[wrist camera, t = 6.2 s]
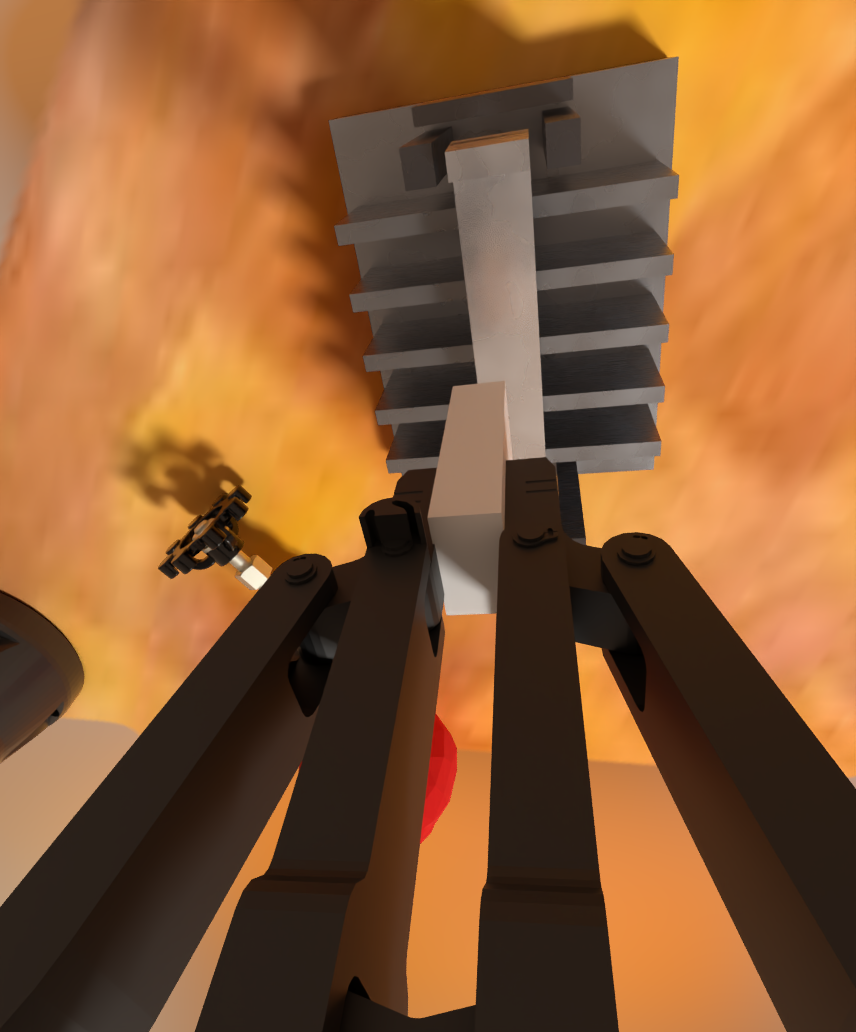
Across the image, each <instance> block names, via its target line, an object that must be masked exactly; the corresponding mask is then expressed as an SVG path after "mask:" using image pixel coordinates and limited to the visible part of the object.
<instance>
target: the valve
mask: <svg viewBox="0 0 856 1032" xmlns="http://www.w3.org/2000/svg"><path fill="white" fill-rule="evenodd" d="M251 497H252V496H251V495H250V494H249V493H248V492H247V491H246V490H245V489H244V488H243V487H242V486H241V485H238V486H236V487H235V488H234V489H233V490H232V491H231V492H230V493H229V494H228V495H227V494H226V493H223V494H222V495H220V496H219V497H218V498H217V499H216V500H215V501H214V503H213V504H212V506H213V507H212V508H211V509H210V510H209V511H208V512H207V513H206V514H205V515H204V516H202V515H198V516H197V517H196V518H195V519H194V520H193V521H192V522H191V523H190V524H189V526H188V529H190V530H189V531H188V532H187V533H186V535H185V536H184V537H183V538H182V539H181V540H176V541H175V542H174V543H173V544H172V545H171V546H170V547H169V548H168V549H167V551H166V554H167V555H168V556H167V557H166V558H165V559H164V560H163V561H162V562H161V563H160V565H159V566H158V569H159V570H160V571H161V572H163V573H164V574H165V575H166V576H168V577H169V578H170V579H173V578H174V577H176V576H177V575H178V574H179V572H178V570H177V569H179V570H180V571H181V572H182V573H183V574H187V573H189V572H190V571H191V570H192V569H197V570H202V569H206V568H209V567H210V566H212V565H213V564H214V563H215V562H216V563H217V564H218V565H219V566H224V565H226V564H227V563H230V564H232V565H233V566H234V567H235V568H236V569H237V572H236V575H235V577H236V578H237V579H238V580H239V581H240V582H241V583H243V584H244V585H245V586H246V587H247V588H249V589H250V590H256V589H260V588H261V587H262V585H263V584H264V583H265V582H266V581H267V579H268V578H269V577H270V576H271V574H270V573H271V571H272V569H273V568H272V567H271V566H269V565H268V564H267V563H266V562H265V561H264V560H263V559H262V558H260V557H259V556H258V555H252V556H251V557H248V556H247V555H246V554H245V553H244V552H242V551H241V549H242V547H243V545H244V541H243V540H242V539H240V538H239V537H238V532H239V528H238V524H237V522H236V520H237V521H239V520H240V519H241V518H242V517H243V516H244V515H245V514H246V513H247V511H248V507H247V506H246V505H245V504H244V503H243V502H245V503H248V501H249V500H250V499H251ZM240 500H241V501H242V502H241V501H240ZM234 518H235V519H236V520H235V519H234ZM201 550H202V551H203V552H204V553H205V554H206V555H208V556H207V557H205V558H204V559H201V560H199V559H196V558H194V556H195V555H197V554H198V553H199V552H200V551H201ZM175 567H176V568H177V569H176V568H175Z"/></svg>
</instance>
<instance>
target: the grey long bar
mask: <svg viewBox="0 0 856 1032" xmlns="http://www.w3.org/2000/svg"><path fill="white" fill-rule="evenodd" d="M445 159H446V167H447V175H448V183H451V182H453V186H454V194H455V202H456V210H457V219H458V227H459V235H460V243H461V252H462V260H463V268H464V276H465V285H466V293H467V301H468V309H469V317H470V326H471V334H472V342H473V350H474V359H475V367H476V375H477V383H478V384H479V383H488V382H497V381H505V386H506V396H507V407H508V417H509V427H510V437H511V447H512V458H513V460H516V459H528V458H540V457H546V453H545V434H544V415H543V396H542V378H541V359H540V340H539V321H538V302H537V283H536V264H535V246H534V227H533V208H532V189H531V170H530V151H529V132H528V129H524V130H518V131H512V132H506V133H500V134H494V135H488V136H482V137H476V138H470V139H464V140H458V141H452V142H451V143H450V144H449V146H448V148H447V149H446V151H445Z"/></svg>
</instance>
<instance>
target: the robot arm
mask: <svg viewBox="0 0 856 1032" xmlns="http://www.w3.org/2000/svg"><path fill="white" fill-rule="evenodd" d="M359 520H360V524H361V527H362V531H363V534H364V538H365V542H366V545H367V550H366V554H365V556H364V557H362V558H360V559H358V560H355V561H352V562H349V563H345V564H342V565H338V566H335V567H332V564H331V561H330V560H329V559H327V558H326V557H325V556H322V555H319V554H304V555H300V556H296V557H293V558H291V559H289V560H287V561H286V562H284V563H282V564H281V565H280V566H279V567H278V568H277V569H276V570H275V571H274V572H273V573H272V574H271V576H270V577H269V578H268V579H267V581H266V582H265V583H264V584H263V585H262V587H261V588H260V589H259V590H258V592H257V593H256V594H255V595H254V597H253V598H252V599H251V600H250V601H249V603H248V604H247V605H246V606H245V608H244V609H243V610H242V611H241V612H240V614H239V615H238V616H237V617H236V619H235V620H234V621H233V622H232V623H231V625H230V626H229V627H228V628H227V630H226V631H225V632H224V633H223V635H222V636H221V637H220V638H219V639H218V641H217V642H216V643H215V644H214V646H213V647H212V648H211V649H210V650H209V652H208V653H207V654H206V655H205V657H204V658H203V659H202V660H201V662H200V663H199V664H198V665H197V666H196V668H195V669H194V670H193V671H192V673H191V674H190V675H189V676H188V677H187V679H186V680H185V681H184V682H183V684H182V685H181V686H180V687H179V689H178V690H177V691H176V692H175V693H174V695H173V696H172V697H171V698H170V700H169V701H168V702H167V703H166V704H165V706H164V707H163V708H162V709H161V711H160V712H159V713H158V714H157V715H156V717H155V718H154V719H153V720H152V722H151V723H150V724H149V725H148V727H147V728H146V729H145V730H144V731H143V733H142V734H141V735H140V736H139V738H138V739H137V740H136V741H135V743H134V744H133V745H132V746H131V748H130V749H129V750H128V751H127V752H126V754H125V755H124V756H123V757H122V759H121V760H120V761H119V762H118V763H117V765H116V766H115V767H114V768H113V769H112V771H111V772H110V773H109V774H108V776H107V777H106V778H105V779H104V781H103V782H102V783H101V784H100V785H99V787H98V788H97V789H96V790H95V792H94V793H93V794H92V795H91V797H90V798H89V799H88V800H87V801H86V803H85V804H84V805H83V806H82V808H81V809H80V810H79V811H78V812H77V814H76V815H75V816H74V817H73V819H72V820H71V821H70V822H69V824H68V825H67V826H66V827H65V828H64V830H63V831H62V832H61V833H60V835H59V836H58V837H57V838H56V840H55V841H54V842H53V843H52V844H51V846H50V847H49V848H48V849H47V851H46V852H45V853H44V854H43V855H42V857H41V858H40V859H39V860H38V862H37V863H36V864H35V865H34V866H33V868H32V869H31V870H30V871H29V873H28V874H27V875H26V876H25V877H24V879H23V880H22V881H21V882H20V884H19V885H18V886H17V887H16V888H15V890H14V891H13V892H12V893H11V895H10V896H9V897H8V898H7V899H6V901H5V902H4V903H3V904H2V906H1V907H0V1032H149V1031H150V1029H151V1027H152V1026H153V1024H154V1022H155V1021H156V1019H157V1017H158V1015H159V1014H160V1012H161V1010H162V1008H163V1007H164V1005H165V1003H166V1001H167V1000H168V998H169V996H170V994H171V992H172V991H173V989H174V987H175V985H176V984H177V982H178V980H179V978H180V976H181V975H182V973H183V971H184V969H185V967H186V966H187V964H188V962H189V960H190V959H191V957H192V955H193V953H194V952H195V950H196V948H197V946H198V945H199V943H200V941H201V939H202V937H203V935H204V934H205V932H206V930H207V929H208V927H209V925H210V923H211V921H212V920H213V918H214V916H215V914H216V913H217V911H218V909H219V907H220V905H221V904H222V902H223V900H224V898H225V896H226V895H227V893H228V891H229V890H230V888H231V886H232V884H233V882H234V881H235V879H236V877H237V875H238V873H239V872H240V870H241V868H242V866H243V865H244V863H245V861H246V859H247V858H248V856H249V854H250V852H251V850H252V848H253V847H254V845H255V843H256V842H257V840H258V838H259V836H260V834H261V833H262V831H263V829H264V827H265V826H266V824H267V822H268V820H269V819H270V817H271V815H272V813H273V811H274V810H275V808H276V806H277V804H278V802H279V801H280V799H281V797H282V795H283V794H284V792H285V790H286V788H287V787H288V785H289V783H290V781H291V779H292V778H293V776H294V774H295V772H296V771H297V769H298V767H299V765H300V764H301V762H302V764H301V767H300V770H299V773H298V777H297V780H296V784H295V787H294V790H293V793H292V797H291V800H290V803H289V806H288V810H287V813H286V817H285V819H284V823H283V826H282V829H281V833H280V836H279V839H278V842H277V846H276V849H275V852H274V855H273V859H272V861H271V864H270V866H269V869H268V870H267V871H266V873H265V874H264V875H262V876H259V877H257V878H255V879H252V880H251V881H250V882H249V884H248V885H247V887H246V888H245V889H244V890H243V892H242V895H241V897H240V899H239V902H238V904H237V906H236V909H235V912H234V915H233V918H232V921H231V924H230V927H229V930H228V933H227V936H226V939H225V942H224V945H223V948H222V951H221V954H220V957H219V960H218V963H217V966H216V969H215V972H214V975H213V978H212V981H211V984H210V987H209V990H208V993H207V996H206V999H205V1003H204V1005H203V1009H202V1011H201V1015H200V1017H199V1021H198V1024H197V1027H196V1030H195V1032H619V1029H618V1020H617V1011H616V1001H615V991H614V983H613V973H612V965H611V956H610V955H611V954H610V945H609V936H608V927H607V918H606V910H605V903H604V896H603V891H602V888H601V882H600V873H599V864H598V855H597V845H596V835H595V826H594V817H593V807H592V798H591V788H590V779H589V769H588V759H587V750H586V740H585V731H584V721H583V712H582V702H581V693H580V683H579V674H578V664H577V655H576V645H575V642H578V643H582V644H587V645H591V646H595V647H600V648H602V652H603V656H604V658H605V660H606V662H607V664H608V666H609V668H610V670H611V673H612V675H613V677H614V679H615V681H616V683H617V685H618V687H619V689H620V691H621V693H622V695H623V697H624V699H625V701H626V703H627V705H628V707H629V709H630V711H631V713H632V716H633V718H634V720H635V722H636V724H637V726H638V728H639V730H640V732H641V734H642V736H643V738H644V740H645V742H646V744H647V746H648V748H649V750H650V752H651V754H652V757H653V759H654V761H655V763H656V765H657V767H658V769H659V771H660V773H661V775H662V777H663V779H664V781H665V783H666V785H667V787H668V789H669V791H670V793H671V795H672V797H673V800H674V802H675V804H676V806H677V808H678V810H679V812H680V814H681V816H682V818H683V820H684V822H685V824H686V826H687V828H688V830H689V832H690V834H691V836H692V838H693V840H694V842H695V845H696V847H697V849H698V851H699V853H700V855H701V857H702V858H703V861H704V863H705V865H706V867H707V869H708V871H709V873H710V875H711V877H712V879H713V881H714V883H715V886H716V887H717V890H718V892H719V894H720V896H721V898H722V900H723V902H724V904H725V906H726V908H727V910H728V912H729V914H730V916H731V918H732V920H733V922H734V924H735V926H736V929H737V930H738V933H739V935H740V937H741V939H742V941H743V943H744V945H745V947H746V949H747V951H748V953H749V955H750V957H751V959H752V961H753V963H754V965H755V967H756V970H757V972H758V974H759V976H760V978H761V980H762V982H763V984H764V986H765V988H766V990H767V992H768V994H769V996H770V998H771V1000H772V1002H773V1004H774V1006H775V1008H776V1010H777V1013H778V1015H779V1017H780V1019H781V1021H782V1023H783V1025H784V1027H785V1029H786V1031H787V1032H856V789H855V787H854V786H853V785H852V783H851V782H850V781H849V779H848V778H847V777H846V775H845V774H844V773H843V772H842V770H841V769H840V768H839V766H838V765H837V764H836V762H835V761H834V760H833V758H832V757H831V756H830V755H829V753H828V752H827V751H826V749H825V748H824V747H823V745H822V744H821V743H820V741H819V740H818V739H817V738H816V736H815V735H814V734H813V732H812V731H811V730H810V728H809V727H808V726H807V724H806V723H805V722H804V721H803V719H802V718H801V717H800V715H799V714H798V713H797V711H796V710H795V709H794V707H793V706H792V705H791V704H790V702H789V701H788V700H787V698H786V697H785V696H784V694H783V693H782V692H781V690H780V689H779V688H778V686H777V685H776V684H775V683H774V681H773V680H772V679H771V677H770V676H769V675H768V673H767V672H766V671H765V669H764V668H763V667H762V666H761V664H760V663H759V662H758V660H757V659H756V658H755V656H754V655H753V654H752V652H751V651H750V650H749V649H748V647H747V646H746V645H745V643H744V642H743V641H742V639H741V638H740V637H739V635H738V634H737V633H736V632H735V630H734V629H733V628H732V626H731V625H730V624H729V622H728V621H727V620H726V618H725V617H724V616H723V615H722V613H721V612H720V611H719V609H718V608H717V607H716V605H715V604H714V603H713V601H712V600H711V599H710V598H709V596H708V595H707V594H706V592H705V591H704V590H703V588H702V587H701V586H700V584H699V583H698V582H697V581H696V579H695V578H694V577H693V575H692V574H691V573H690V571H689V570H688V569H687V567H686V566H685V565H684V564H683V562H682V561H681V560H680V558H679V557H678V556H677V554H676V553H675V552H674V550H673V549H672V548H671V547H670V546H669V545H668V544H667V543H666V542H665V541H664V540H662V539H661V538H658V537H656V536H653V535H651V534H645V533H638V532H635V533H623V534H620V535H617V536H615V537H612V538H610V539H609V540H608V541H607V542H605V543H604V545H603V547H602V548H597V547H591V546H587V545H583V544H580V543H578V542H576V541H574V540H572V539H571V538H569V537H568V536H567V535H566V534H565V532H564V531H563V528H562V524H561V514H560V505H559V496H558V486H557V477H556V468H555V466H554V465H553V464H552V463H551V462H550V461H549V460H548V459H547V458H546V457H540V458H528V459H516V460H513V458H512V447H511V437H510V427H509V417H508V407H507V396H506V386H505V381H497V382H488V383H479V384H470V385H460V386H453V388H452V394H451V399H450V404H449V409H448V414H447V419H446V424H445V430H444V435H443V440H442V445H441V450H440V455H439V461H438V466H437V468H426V469H414V470H408V471H407V472H406V473H405V474H404V475H403V476H402V477H401V478H400V479H399V480H398V481H397V485H396V488H395V492H394V495H393V498H387V499H382V500H380V501H377V502H375V503H372V504H371V505H369V506H368V507H367V508H365V509H364V510H363V511H362V513H361V514H360V516H359ZM443 602H444V604H445V609H446V614H447V615H466V614H492V613H497V617H496V645H495V674H494V702H493V731H492V761H491V789H490V817H489V845H488V872H487V880H486V884H485V886H484V888H483V890H482V896H481V905H480V919H479V942H478V965H477V989H476V1005H473V1006H470V1007H465V1008H462V1009H457V1010H453V1011H449V1012H445V1013H441V1014H437V1015H433V1016H429V1017H425V1018H410V1017H408V991H407V976H406V958H407V948H408V940H409V931H410V922H411V914H412V906H413V897H414V889H415V880H416V872H417V864H418V856H419V855H418V854H419V847H420V839H421V830H422V822H423V814H424V805H425V797H426V788H427V780H428V771H429V763H430V755H431V746H432V738H433V729H434V721H435V713H436V704H437V696H438V687H439V679H440V670H441V662H442V654H443V645H444V637H445V629H444V623H443V618H442V610H443ZM83 684H84V671H83V667H82V664H81V661H80V659H79V657H78V655H77V653H76V652H75V650H74V649H73V647H72V646H71V644H70V643H69V642H68V641H67V639H66V638H65V637H64V636H63V635H62V634H61V633H60V632H59V631H58V630H57V629H56V628H55V627H54V626H53V625H52V624H50V623H49V622H48V621H47V620H46V619H44V618H43V617H42V616H40V615H39V614H38V613H36V612H35V611H33V610H32V609H30V608H28V607H27V606H25V605H24V604H22V603H20V602H18V601H16V600H14V599H13V598H11V597H8V596H6V595H4V594H2V593H0V764H1V763H2V762H3V761H4V760H5V759H7V758H8V757H10V756H11V755H12V754H13V753H15V752H16V751H18V750H19V749H20V748H21V747H23V746H24V745H25V744H27V743H28V742H29V741H31V740H32V739H33V738H35V737H36V736H37V735H38V734H39V733H41V732H42V731H43V730H45V729H46V728H47V727H48V726H49V725H51V724H53V723H54V722H55V721H57V720H58V719H59V718H60V717H62V716H63V714H64V713H65V712H66V711H67V710H68V708H69V707H70V706H71V704H72V703H73V701H74V700H75V699H76V697H77V696H78V694H79V693H80V691H81V690H82V687H83Z"/></svg>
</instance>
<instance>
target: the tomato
mask: <svg viewBox="0 0 856 1032" xmlns="http://www.w3.org/2000/svg"><path fill="white" fill-rule="evenodd" d="M301 764H302V762H301ZM301 764H300V765H299V770H300V767H301ZM456 772H457V748H456V745H455V743H454V741H453V738H452V736H451V734H450V733H449V731H448V730H447V728H446V727H445V726H444V724H443V723H442V721H441V720H440V719H439V717H438V716H437V715H436V714H435V721H434V729H433V738H432V746H431V755H430V763H429V771H428V780H427V788H426V797H425V805H424V814H423V822H422V830H421V839H420V844H421V843H422V842H423V841H424V839H425V838H426V837H427V836H428V835H429V834H430V833H431V832H432V829H433V827H434V825H435V823H436V822H437V820H438V818H439V817H440V815H441V814H442V812H443V811H444V809H445V808H446V806H447V805H448V803H449V802H450V798H451V794H452V789H453V785H454V781H455V776H456Z"/></svg>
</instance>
